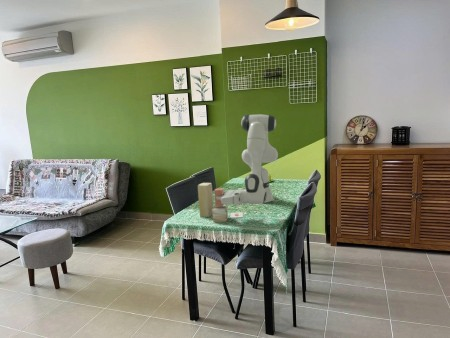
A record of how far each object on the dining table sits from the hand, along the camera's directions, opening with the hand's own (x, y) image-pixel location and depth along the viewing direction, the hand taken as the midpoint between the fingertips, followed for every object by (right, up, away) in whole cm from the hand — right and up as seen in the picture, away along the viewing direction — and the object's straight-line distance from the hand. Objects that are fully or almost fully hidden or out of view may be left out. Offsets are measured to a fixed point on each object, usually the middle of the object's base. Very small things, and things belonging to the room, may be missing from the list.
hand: (217, 196), depth 209 cm
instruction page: (+12, -13, +10) cm, 20 cm away
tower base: (+2, -15, +3) cm, 15 cm away
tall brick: (+1, -5, +1) cm, 6 cm away
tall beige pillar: (-8, -14, +13) cm, 20 cm away
